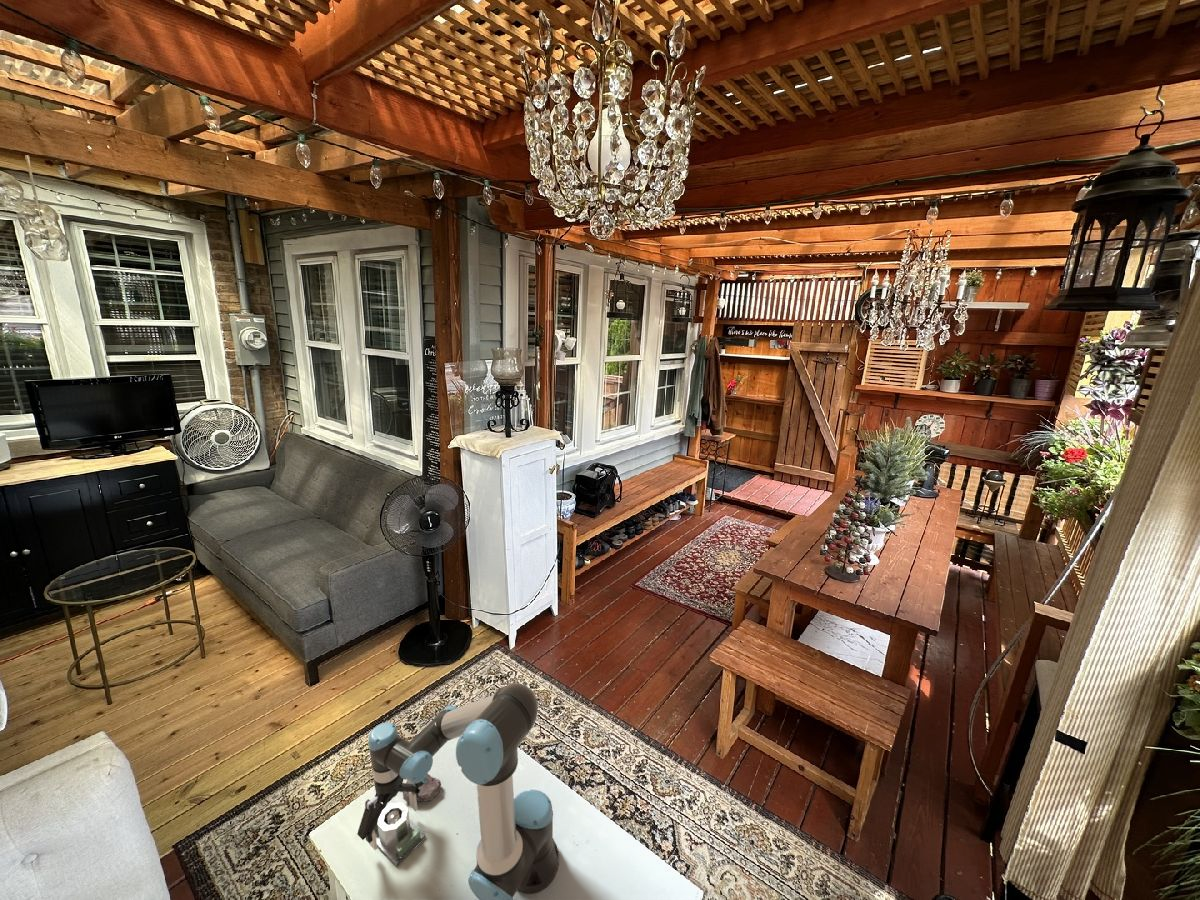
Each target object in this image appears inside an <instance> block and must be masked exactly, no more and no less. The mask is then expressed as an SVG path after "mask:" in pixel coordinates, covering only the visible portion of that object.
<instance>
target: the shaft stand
mask: <svg viewBox="0 0 1200 900" xmlns="http://www.w3.org/2000/svg"><path fill="white" fill-rule="evenodd" d="M390 804H392V803H391V802H388V803H387V805H386V807H385V808H387V807H388V806H389V805H390ZM383 810H384V809H383ZM383 810H382V811H383ZM399 820H400V816H399V812H398V811H396V810H395V811H392V812H390V813H389V814H388V816H387V822H388V825H392V824H395V823H396V822H398V821H399ZM409 820H410V829H409V834H408V835H407V836H406V837H405V838H404V839H403V840H402V841H401V842H400V843H399V844H398V845H397V846H396V847H390V848H386V847H385V846H384V845H383V844H382V843H381V842H380V837H379V830H378V821H379V819H378V821H377V823H376V825H375V828H374V831H375V834H376V841H377V849H379V850H380V851H381V853H383V854H384V856H386V857H387V859H388V860H389V861H390V862H391V863H392V864H393V865H394V866H395V867H396V868H398V867H399V865H401V864H402V863H403V862H404V860H406V858H407V857H408V856H410V854H411V853H413V851H414V850H415V849H416V848H417V847H418V846H419V845H420V844H421V843H422V842H423V841H424V840H425V839H426V838H427V834H426V833H425V832H424V831H423V830H422V829H421V828H420V827H418V825H416V824H415V823H414V822H413V820H411V819H410V818H409ZM425 837H426V838H425ZM424 838H425V839H424ZM423 839H424V840H423ZM422 840H423V841H422ZM421 841H422V842H421ZM420 842H421V843H420ZM419 843H420V844H419ZM418 844H419V845H418ZM417 845H418V846H417ZM416 846H417V847H416ZM415 847H416V848H415ZM414 848H415V849H414ZM413 849H414V850H413ZM412 850H413V851H412Z"/></svg>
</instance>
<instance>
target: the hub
mask: <svg viewBox="0 0 1200 900" xmlns="http://www.w3.org/2000/svg"><path fill="white" fill-rule="evenodd" d="M395 810H396V811H398V812H399V816H400V820H399V821H398V822H396V823H395V824H392V825H388V822H387V816H388V814H389V813H390V812H392V811H395ZM409 819H410V813H409V807H407V806H406V805H405V804H404V803H403V802H395V803H391V804H390V805H389V806H388V807H387V808H385V809H384V810H383V811H382V813H381V815H380V817H379V821H378V830H379V837H380V842H381V843H382V844H383V845H384V846H385V847H386V848H390V847H396V846H397V845H398V844H399V843H400V842H401V841H402V840H403V839H404V838H405V837H406V836H407V835H408V834H409V829H410V820H411V819H410V820H409Z"/></svg>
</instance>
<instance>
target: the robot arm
mask: <svg viewBox="0 0 1200 900" xmlns="http://www.w3.org/2000/svg"><path fill="white" fill-rule="evenodd" d="M538 711H539V706H538V700H537V697H536V695H535V693H534V691H533V690H532V689H531V687H528V685H526V684H523V683H517V682H515V683H510V684H507V685H505V686H502V687H500V688H498V689H496V691H495V692H494V693H493V694H491V695H489V696H487V697H484V698H482V699H478V700H476V701H473V702H471V703H467V704H465V705H463V706H462V705H461V706H460V707H458V706H454V705H452V704H451V705H448V706H446V707H445V708H444V709H443V710H441V711H440V712H439V713H438V714H437V715H436V716H435V717H434V718H433V719H432V720H431V721H430V722H428V724H427V725H426V726H425V727H424V728H423V729H422V730H421V731H420V732H418V733H417V734H416V736H414V737H413V738H412V739H411V740H410V741H408V740H407V739H405V738H403V737H401V736H399V734H398V733H399V732H398V729H397V726H396V724H395V723H393V722H389V721H388V722H382V723H379V724H378V725H376V726H375V727H374V728H373V729H371V731H370V733H369V735H368V749H369V750H368V751H369V757H370V763H371V770H372V776H373V784H374V790H375V795H374V797H373V798H372V799H371V800H370V799H366V800H365V803H364V806H365V807H364V811H363V814H362V817H361V821H360V824H359V827H358V830H357V833H356V834H357V836H358V837H359V838H360V839H361V840H362V841H364V840H365V841H366V842H367V843H368V844H369V846H370V847H372V849H373V850H374V851H376V850H377V849H378V847H377V841H376V834H375V831H374V828H375V825H376V823H377V821H378V819H379V817H380V815H381V813H382V810H383V809H385V807H386V806H387V805H388V804H389V803H390V801H392V799H394V798H395V797H396V796H398V793H403V792H404V791H405V792H409V800H410V803H409V806H410V808H411V809H412V810H413V811H414V812H417V811H418V810H419V809H418V801H417V800H416V799H417V798H418V793H419V792H420V790H419V789H418V788H419V787H420V786H422V785H423V782H422V780H423V779H424V778H425V777H426V776H427V774H429V772H430V771H431V769H432V767H433V764H434V763H433V762H434V759H433V757H434V756H435V755H436V753H438V752H439V750H441V748H442V747H443V746H444V745H446V743H447V742H449V741H451V740H455V739H457V738H458V739H457V742H456V745H455V757H456V758H455V760H456V763H457V764H458V766H459V767H460V768H461V769H460V771H461V773H462V774H463V775H464V777H465V778H466V779H468V781H469V782H472V783H473V784H475V785H476V795H477V804H478V806H477V807H478V818H479V826H480V828H479V829H480V840H479V842H478V845H477V847H476V854H475V855H476V866H475V867H474V868H473V869H472V870H471V872H470V874H469V877H468V886H469V889H470V891H471V892H472V893H473V895H474V896H475V898H477V900H513V899H514V896H515V894H517V891H519V892H521V893H522V894H523V893H524V894H530V895H531V894H536V893H538V892H542V891H543V890H545V889H546V888H547V887H548V886H549V885H551V883H552V882H553V881H554V880H555V877H556V875H557V874H558V873H557V872H558V869H559V865H560V864H559V862H560V859H559V855H560V853H559V850H558V845H557V844H556V841H555V839H554V837H553V832H554V831H553V827H554V825H553V824H554V822H553V820H554V811H553V804H552V801H551V798H549V796H548V795H547V794H546V793H545V792H543V791H541V790H538V789H530V790H524V791H522V792H520V793H519V794H517V795H516V796H515V795H514V779H513V778H514V774H515V772H516V770H517V768H518V764H519V757H518V754H519V752H518V747H519V745H520V744H521V743H522V742H523V740H524V739H526V736H527V735H528V733H530V731H531V730H532V729H533V727H534V725H535V723H536V721H537V717H538V714H539V713H538ZM404 780H406V781H407V780H408V781H410V782H412V783H415V784H407V783H406V782H404Z"/></svg>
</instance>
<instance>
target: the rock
mask: <svg viewBox="0 0 1200 900" xmlns="http://www.w3.org/2000/svg"><path fill="white" fill-rule="evenodd" d="M422 782H423V785H422V786H420V787H419V788H418V789H419V790H420V792H419V793H418V798H417V799H416V800H417V802H423V801H432V800H433V799H434V798H435V796H436V795H438V793H439V792H440V791H441V787H442V782H441V780H440V779H439V778H436V777H434V776H431V774H429V773H428V774H427V776H426V777H425V778H424V779H423V780H422ZM405 783H407V784H415V783H412V782H410V781H408V780H406V782H405ZM402 798H403V800H405V802H406V803H408V804H410V800H409V792H405V791H404V792H402Z"/></svg>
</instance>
